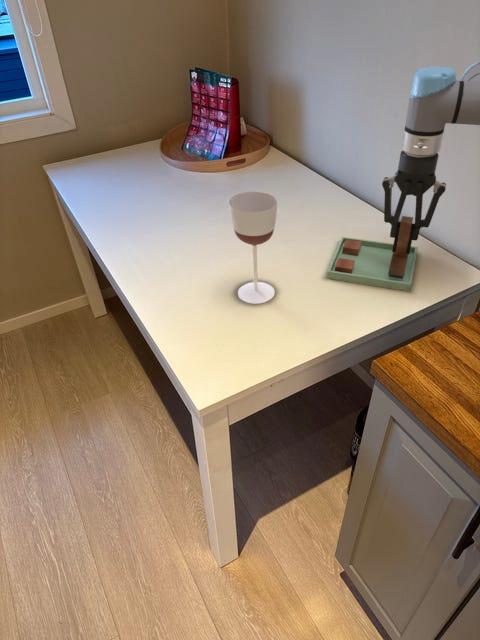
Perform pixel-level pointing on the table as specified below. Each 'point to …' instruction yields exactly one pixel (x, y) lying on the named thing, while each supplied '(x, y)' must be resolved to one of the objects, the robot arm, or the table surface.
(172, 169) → the table surface
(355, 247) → the chip
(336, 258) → the tray
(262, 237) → the wineglass
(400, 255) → the brown piece
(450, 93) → the robot arm
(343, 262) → the chip
